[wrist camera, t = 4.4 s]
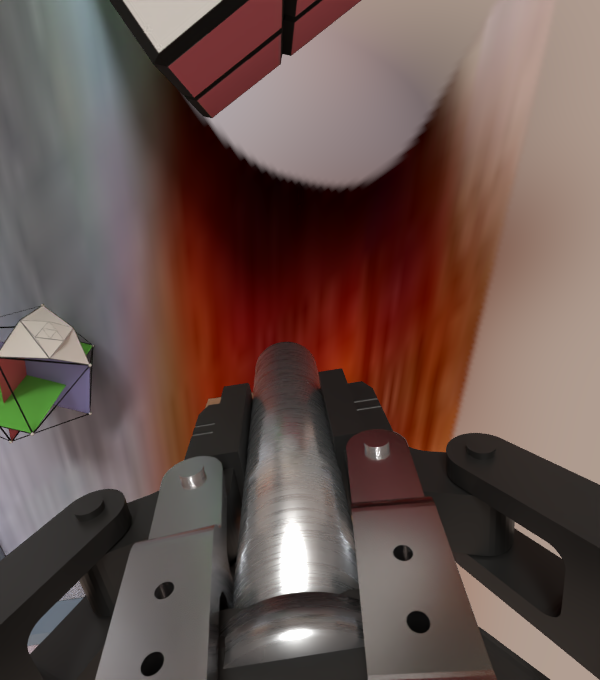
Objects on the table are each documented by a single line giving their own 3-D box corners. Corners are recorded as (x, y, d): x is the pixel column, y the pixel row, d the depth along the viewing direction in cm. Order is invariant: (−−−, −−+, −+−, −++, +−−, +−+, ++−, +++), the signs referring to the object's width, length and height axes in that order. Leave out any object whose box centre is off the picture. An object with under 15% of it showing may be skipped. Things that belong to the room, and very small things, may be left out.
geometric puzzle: (84, 458, 26) (39, 454, 19) (-36, 431, 25) (-134, 415, 18) (125, 350, 28) (100, 308, 21) (17, 321, 27) (-49, 266, 20)
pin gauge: (240, 340, 15) (172, 659, 5) (319, 327, 15) (411, 621, 5) (254, 410, 16) (221, 793, 6) (329, 398, 16) (421, 761, 6)
